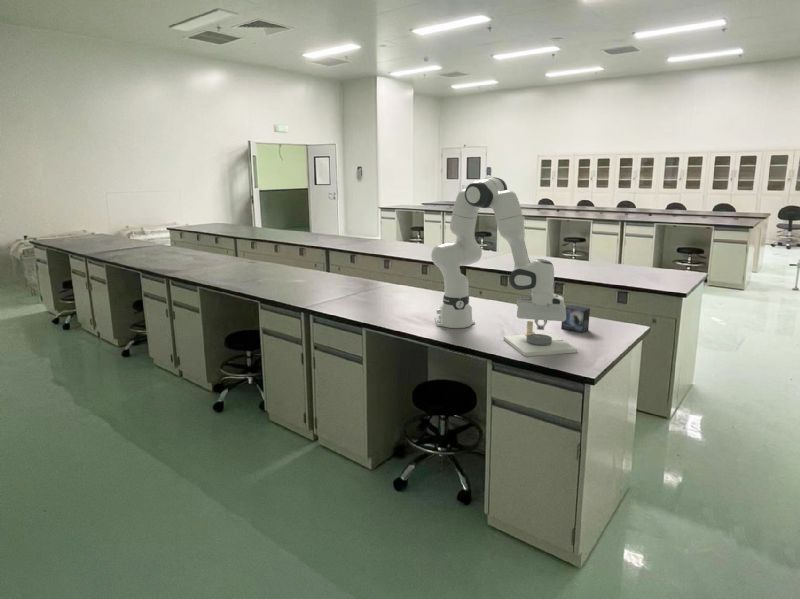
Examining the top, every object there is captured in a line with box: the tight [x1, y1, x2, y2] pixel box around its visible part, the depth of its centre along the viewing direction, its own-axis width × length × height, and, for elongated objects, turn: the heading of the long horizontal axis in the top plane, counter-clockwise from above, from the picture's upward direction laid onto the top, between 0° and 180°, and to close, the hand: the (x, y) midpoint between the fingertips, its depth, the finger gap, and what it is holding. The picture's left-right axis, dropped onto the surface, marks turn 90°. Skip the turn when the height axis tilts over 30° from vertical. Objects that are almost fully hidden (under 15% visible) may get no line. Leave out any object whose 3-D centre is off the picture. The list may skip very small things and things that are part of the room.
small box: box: [560, 304, 591, 334], centre depth 235 cm, size 11×6×10 cm, turn 45°
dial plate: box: [502, 332, 578, 357], centre depth 214 cm, size 22×22×2 cm
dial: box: [526, 320, 552, 345], centre depth 216 cm, size 16×10×6 cm, turn 10°
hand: (540, 329), depth 221 cm, fingers closed
